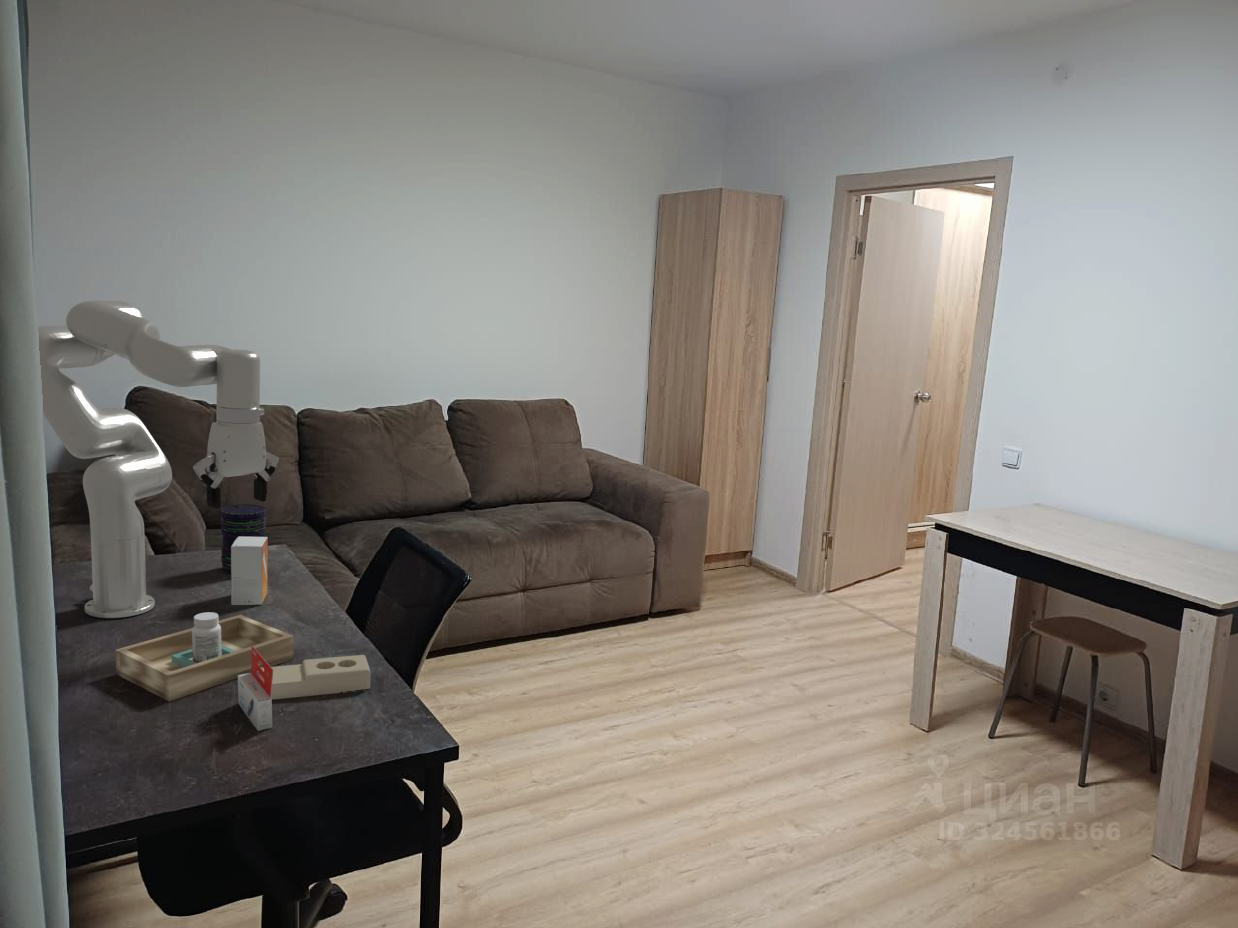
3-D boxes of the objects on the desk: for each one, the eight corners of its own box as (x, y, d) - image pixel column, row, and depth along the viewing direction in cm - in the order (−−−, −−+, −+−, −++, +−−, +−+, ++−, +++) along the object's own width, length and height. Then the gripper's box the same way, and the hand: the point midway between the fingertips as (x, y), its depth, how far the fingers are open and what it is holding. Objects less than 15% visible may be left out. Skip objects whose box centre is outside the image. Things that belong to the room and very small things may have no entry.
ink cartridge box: (257, 731, 142) (257, 672, 140) (237, 704, 151) (236, 647, 149) (273, 728, 144) (273, 669, 142) (252, 700, 152) (252, 645, 150)
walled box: (116, 674, 158) (115, 649, 157) (240, 636, 178) (240, 614, 177) (169, 701, 150) (168, 675, 149) (293, 658, 169) (293, 635, 169)
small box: (262, 605, 195) (262, 546, 193) (230, 605, 194) (230, 546, 192) (268, 593, 203) (268, 536, 201) (237, 593, 202) (237, 535, 199)
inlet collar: (171, 661, 162) (171, 655, 162) (215, 648, 169) (215, 641, 169) (199, 674, 158) (199, 668, 158) (243, 660, 165) (243, 654, 165)
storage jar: (274, 571, 218) (274, 510, 215) (235, 579, 210) (235, 516, 208) (251, 561, 224) (251, 502, 221) (213, 569, 216) (212, 507, 214)
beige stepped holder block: (257, 662, 158) (365, 653, 165) (257, 684, 159) (364, 675, 166) (258, 679, 151) (370, 669, 158) (258, 702, 152) (370, 691, 159)
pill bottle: (198, 655, 166) (197, 610, 164) (225, 655, 166) (224, 611, 165) (188, 665, 161) (187, 620, 160) (216, 666, 162) (215, 620, 160)
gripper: (266, 410, 183) (265, 494, 186) (183, 415, 169) (183, 506, 172) (289, 415, 178) (288, 501, 182) (206, 421, 164) (206, 514, 168)
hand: (237, 503), depth 177 cm, fingers open, 9 cm apart
